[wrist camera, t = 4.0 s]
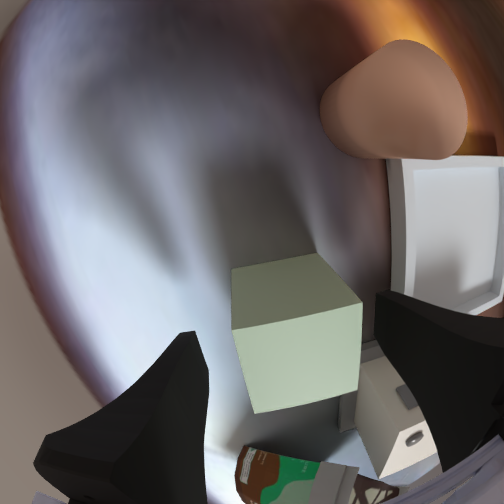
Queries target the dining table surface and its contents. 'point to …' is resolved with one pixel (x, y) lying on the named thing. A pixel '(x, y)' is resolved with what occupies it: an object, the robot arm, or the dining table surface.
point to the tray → (448, 230)
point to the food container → (305, 481)
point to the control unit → (385, 415)
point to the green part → (295, 332)
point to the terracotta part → (396, 106)
